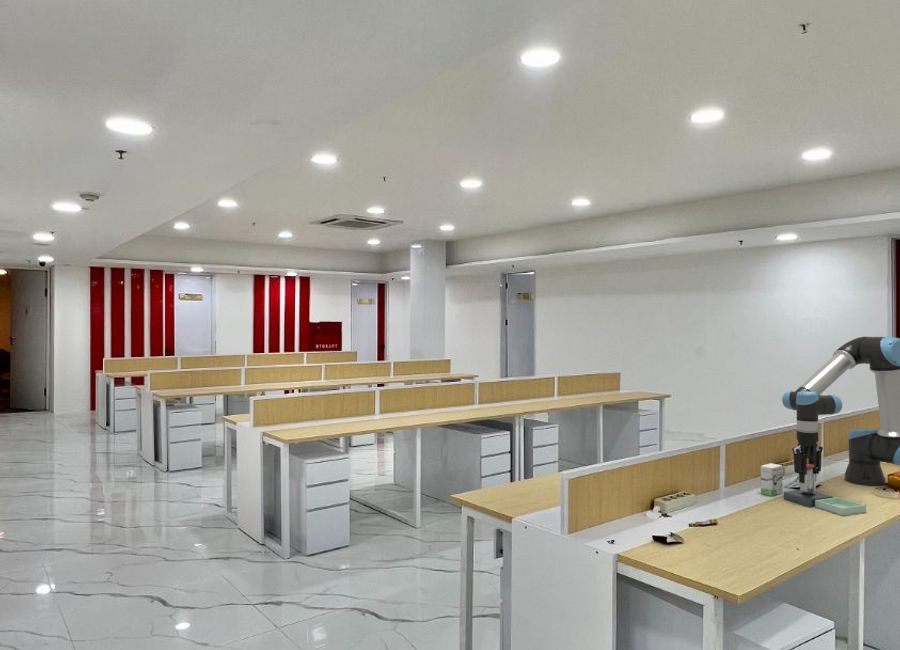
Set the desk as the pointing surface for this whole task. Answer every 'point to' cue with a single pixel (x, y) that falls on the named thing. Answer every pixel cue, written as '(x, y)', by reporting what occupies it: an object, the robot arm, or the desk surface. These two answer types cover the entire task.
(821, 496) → the block
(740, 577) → the desk surface
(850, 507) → the tray
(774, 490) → the ink box
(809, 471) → the red capped clear bottle
